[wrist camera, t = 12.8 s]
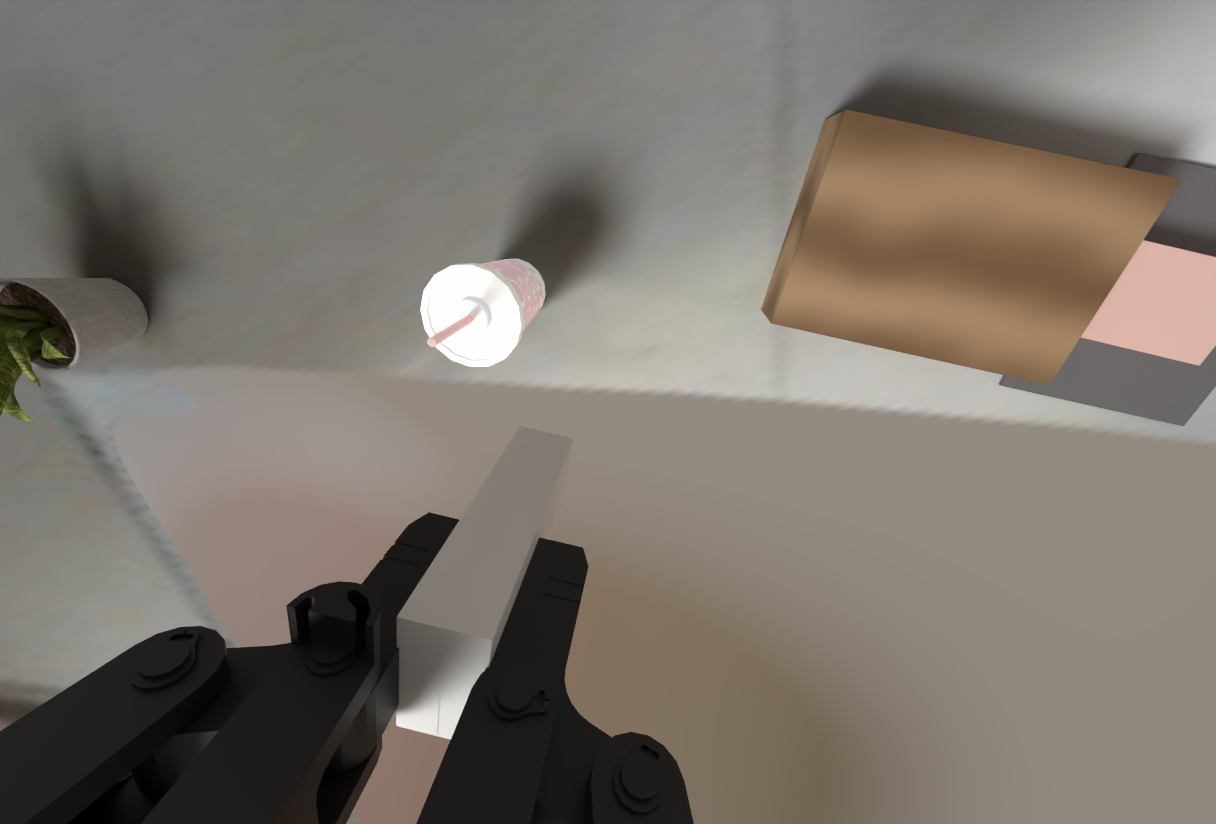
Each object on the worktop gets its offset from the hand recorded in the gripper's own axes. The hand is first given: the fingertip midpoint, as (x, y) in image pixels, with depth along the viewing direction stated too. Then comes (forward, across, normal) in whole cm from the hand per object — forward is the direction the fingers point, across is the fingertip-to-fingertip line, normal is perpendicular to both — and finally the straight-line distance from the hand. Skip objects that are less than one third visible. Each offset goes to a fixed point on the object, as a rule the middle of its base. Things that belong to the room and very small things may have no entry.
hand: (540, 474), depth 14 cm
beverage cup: (+25, -8, -1) cm, 26 cm away
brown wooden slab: (+24, +19, +8) cm, 32 cm away
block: (+24, +33, +8) cm, 41 cm away
